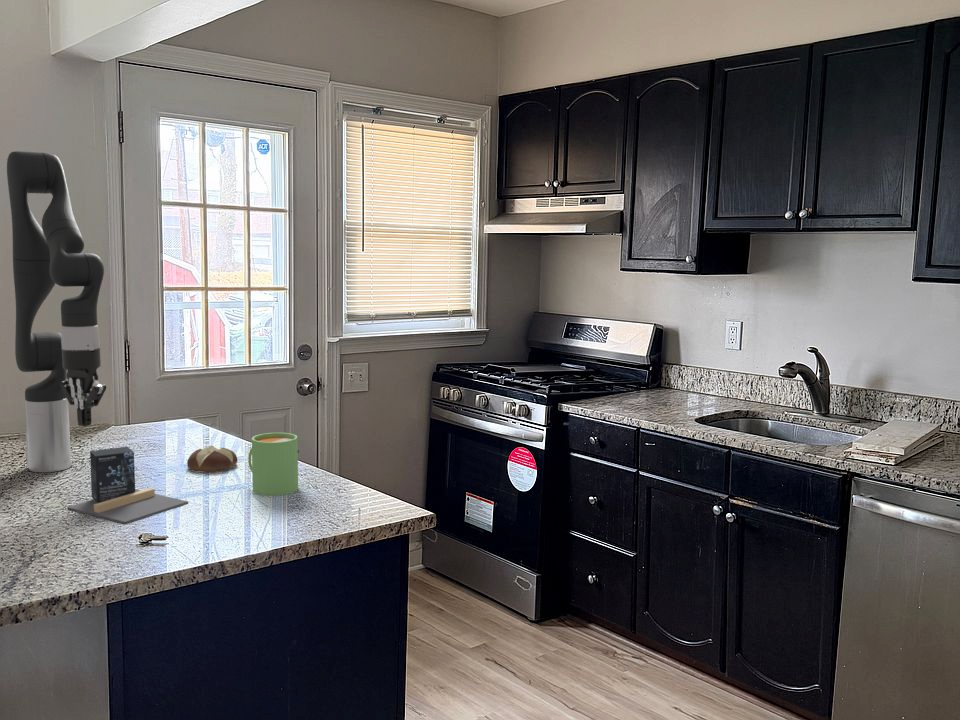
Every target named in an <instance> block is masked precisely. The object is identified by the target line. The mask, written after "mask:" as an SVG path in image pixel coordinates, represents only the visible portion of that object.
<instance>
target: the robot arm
mask: <svg viewBox="0 0 960 720" xmlns="http://www.w3.org/2000/svg"><path fill="white" fill-rule="evenodd" d="M6 177H7V187H8V195H9V196H8V197H9V203H10V206H9V207H10V214H11V225H12V226H11V227H12V229H11V230H12V268H13V269H12V270H13V272H12V273H13V285H14V297H15V298H14V300H15V334H14V335H15V338H14V339H15V340H14V341H15V342H14V343H15V344H14V349H15V351H14V353H15V354H14V355H15V361H16V362H15V363H16V365H17V368H18V369H19V370H20V371H21V372H22V373H23V372H24V373H31V372H32V373H34V372H35V373H37V372H46V371H47V372H49V371H50V374H49V375H48V376H47V377H46V378H44V379H43V380H41V381H40V382H37V383H35V384H31V385H30V386H28V387H26V388H25V390H24V400H25V416H26V417H25V418H26V419H25V420H26V429H25V432H24V433H25V434H24V435H25V447H26V448H25V449H26V450H25V451H26V452H25V453H26V465H27V468H28V469H29V471H31V472H34V473H52V472H53V473H54V472H59V471H63V470H66V469H69V468H71V467H72V457H71V456H72V455H71V437H70V435H71V434H70V419H69V418H70V413H69V406H74V408H75V409H76V417H77V425H78V427H79V426H80V427H87V426H91V425H92V408H94V407H97V406H99V404H100V403H101V402H100V401H101V400H102V397H104V394H105V392H106V390H107V386H106V384H101V383H100V382H99V374H98V369H99V368H100V367H101V363H102V362H101V360H102V359H101V343H100V342H101V340H100V333H99V328H98V327H99V325H98V301H99V295H100V291H101V287H102V283H103V280H104V279H103V278H104V274H105V265H104V262H103V260H102V259H101V257H100V256H99V255H97V254H95V253H92V252H91V253H86V252H85V253H83V250H84V249H85V241H84V238H83V236H82V234H81V231H80V228H79V226H78V224H77V222H76V219H75V216H74V213H73V209H72V208H73V207H72V202H71V197H70V193H69V187H68V185H67V178H66V175H65V171H64V167H63V165H62V162H61V160H60V158H59V157H58V156H57V155H55V154H54V153H48V152H37V151H36V152H35V151H11V152H10V153H8V156H7V159H6ZM28 194H42V195H43V194H48V195H49V194H51V196H52V198H51V201H50V203H49V205H48V206H47V208H46V209H45V211H44V213H43V214H42V218H41V225H40V224H39V222H38V221H37V219H36V217H35V216H34V214H33V212H32V210H31V207H30V203H29V199H28ZM55 285H57V286H59V287H64V288H66V287H67V288H69V287H83V289H82V291H81V293H80V294H78V295H77V296H76V295H75V296H72V297H67V298H65V299H63V300H62V301H61V303H60V316H61V332H60V331H59V332H58V331H56V332H55V331H53V332H52V331H51V332H49V331H48V332H32V329H33V324H34V320H35V319H36V316H37V313H38V311H39V309H40V308H41V306H42V305H43V303H44V301H45V300H46V299H47V298H48V296H49V294H50V293H51V291H52V290H53V288H54V287H55Z"/></svg>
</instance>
